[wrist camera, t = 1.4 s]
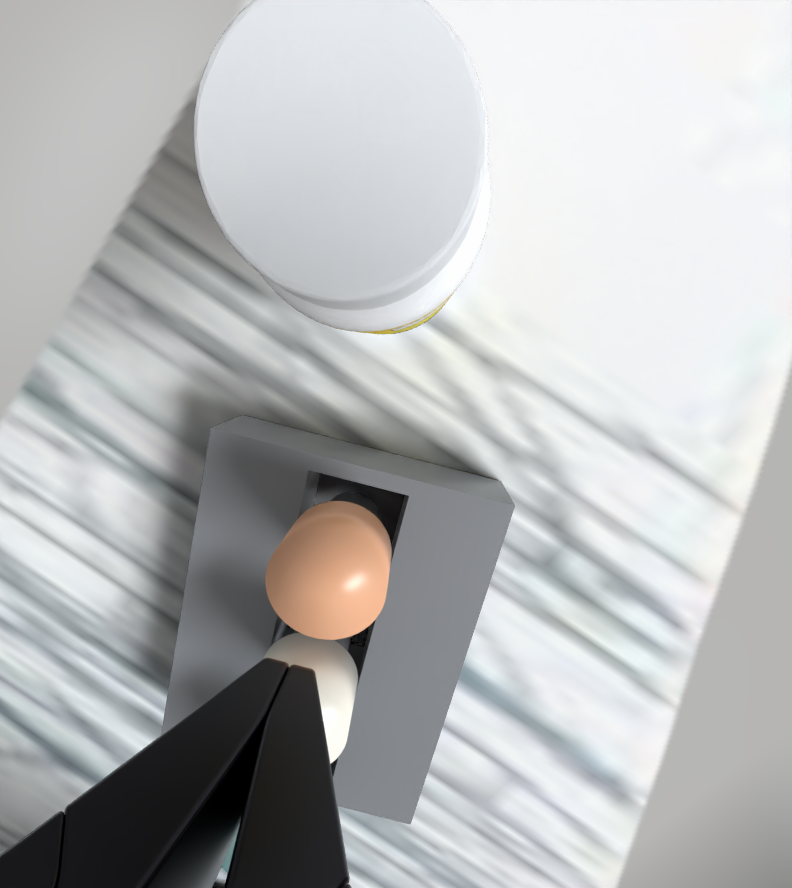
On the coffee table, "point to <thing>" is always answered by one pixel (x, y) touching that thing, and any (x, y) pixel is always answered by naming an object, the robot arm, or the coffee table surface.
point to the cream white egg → (325, 680)
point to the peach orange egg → (331, 569)
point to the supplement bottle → (347, 156)
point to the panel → (390, 635)
